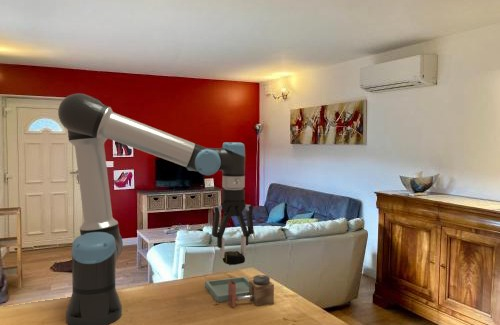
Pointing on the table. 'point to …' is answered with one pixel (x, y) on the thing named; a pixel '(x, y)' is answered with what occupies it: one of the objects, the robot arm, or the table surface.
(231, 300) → the lock pin
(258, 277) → the pulley block
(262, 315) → the table surface
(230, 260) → the tape measure
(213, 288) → the tray
